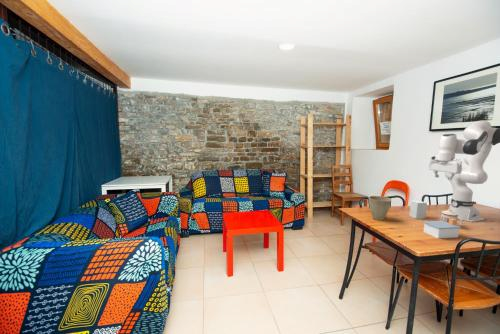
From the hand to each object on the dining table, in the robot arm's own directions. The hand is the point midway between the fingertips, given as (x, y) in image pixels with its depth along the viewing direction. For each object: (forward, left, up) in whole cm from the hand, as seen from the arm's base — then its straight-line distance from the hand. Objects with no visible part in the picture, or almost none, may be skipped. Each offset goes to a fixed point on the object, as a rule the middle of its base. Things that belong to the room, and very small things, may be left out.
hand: (443, 178), depth 154 cm
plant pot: (+31, -19, -34) cm, 50 cm away
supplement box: (-2, -19, -34) cm, 39 cm away
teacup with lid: (-10, 0, -34) cm, 36 cm away
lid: (+10, +12, -29) cm, 33 cm away
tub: (+11, +12, -34) cm, 38 cm away
